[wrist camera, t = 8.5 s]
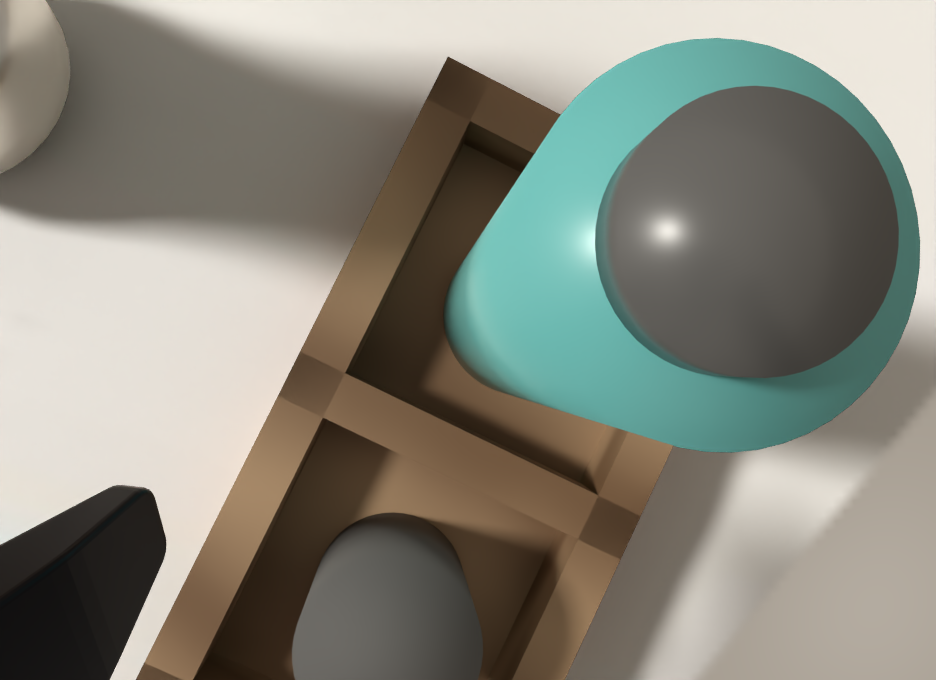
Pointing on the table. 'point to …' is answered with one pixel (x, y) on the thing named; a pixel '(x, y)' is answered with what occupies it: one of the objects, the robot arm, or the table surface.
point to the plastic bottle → (30, 77)
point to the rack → (417, 435)
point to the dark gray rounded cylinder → (388, 607)
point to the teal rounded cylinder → (696, 253)
